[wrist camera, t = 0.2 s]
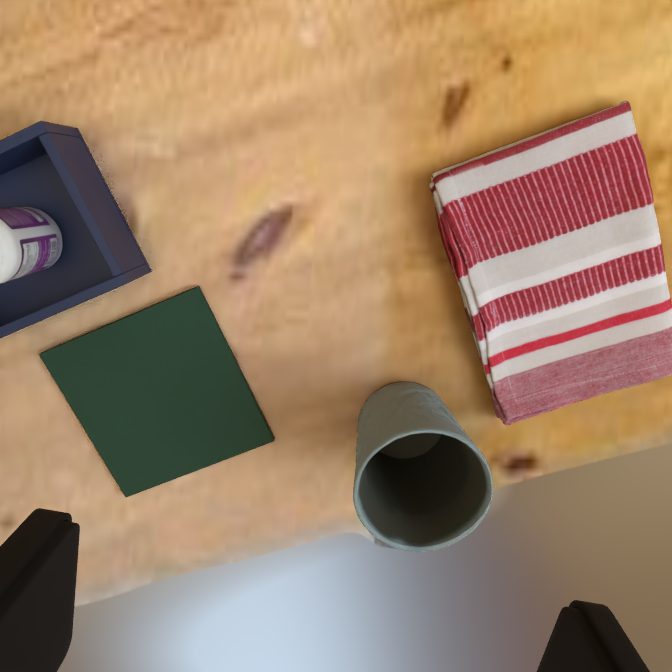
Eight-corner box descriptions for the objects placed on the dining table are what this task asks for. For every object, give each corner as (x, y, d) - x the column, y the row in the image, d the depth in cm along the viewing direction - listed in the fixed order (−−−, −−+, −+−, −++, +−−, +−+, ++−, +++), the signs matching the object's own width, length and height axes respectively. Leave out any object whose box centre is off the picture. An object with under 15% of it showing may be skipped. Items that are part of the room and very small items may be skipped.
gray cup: (345, 463, 51) (346, 546, 39) (355, 365, 48) (361, 424, 36) (449, 472, 51) (481, 557, 39) (465, 375, 48) (505, 436, 36)
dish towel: (496, 420, 49) (505, 433, 47) (421, 176, 43) (426, 176, 40) (676, 362, 48) (695, 373, 45) (625, 99, 41) (644, 94, 39)
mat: (42, 352, 48) (38, 354, 47) (198, 285, 46) (197, 287, 45) (127, 494, 52) (125, 497, 51) (275, 438, 50) (274, 441, 49)
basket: (-83, 204, 44) (-140, 207, 39) (77, 128, 42) (40, 120, 37) (-1, 337, 47) (-43, 356, 42) (152, 271, 45) (127, 282, 40)
